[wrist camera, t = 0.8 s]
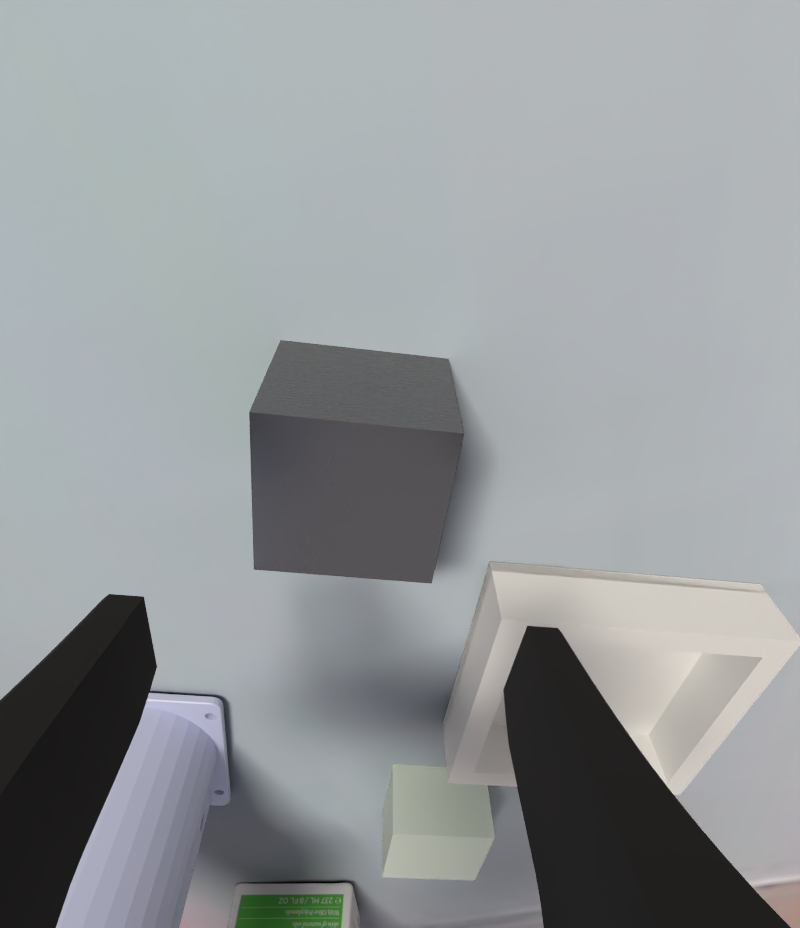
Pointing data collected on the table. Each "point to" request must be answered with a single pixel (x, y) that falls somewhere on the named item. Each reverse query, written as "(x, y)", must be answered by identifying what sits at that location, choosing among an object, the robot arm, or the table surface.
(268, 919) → the skincare box
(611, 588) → the box
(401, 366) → the metal block
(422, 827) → the pale green box
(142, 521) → the table surface
